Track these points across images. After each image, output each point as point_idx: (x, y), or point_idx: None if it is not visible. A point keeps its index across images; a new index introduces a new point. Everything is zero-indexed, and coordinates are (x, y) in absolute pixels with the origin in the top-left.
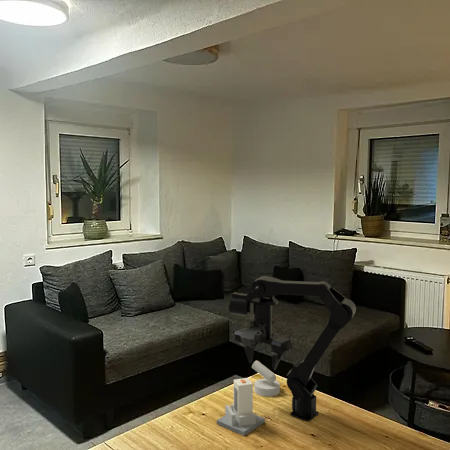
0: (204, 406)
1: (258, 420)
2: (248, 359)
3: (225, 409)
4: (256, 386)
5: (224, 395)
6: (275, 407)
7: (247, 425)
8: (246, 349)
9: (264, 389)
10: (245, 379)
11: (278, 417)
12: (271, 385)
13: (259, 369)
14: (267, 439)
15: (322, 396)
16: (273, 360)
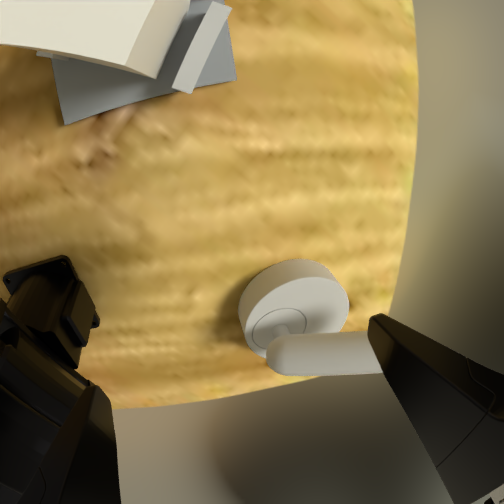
0: (371, 13)
1: (66, 85)
2: (401, 328)
3: None
4: (315, 276)
5: (384, 143)
6: (152, 247)
7: None
8: (482, 392)
9: (271, 289)
10: (106, 15)
11: (73, 202)
12: (273, 328)
13: (352, 346)
14: None
15: (139, 400)
16: (55, 472)
